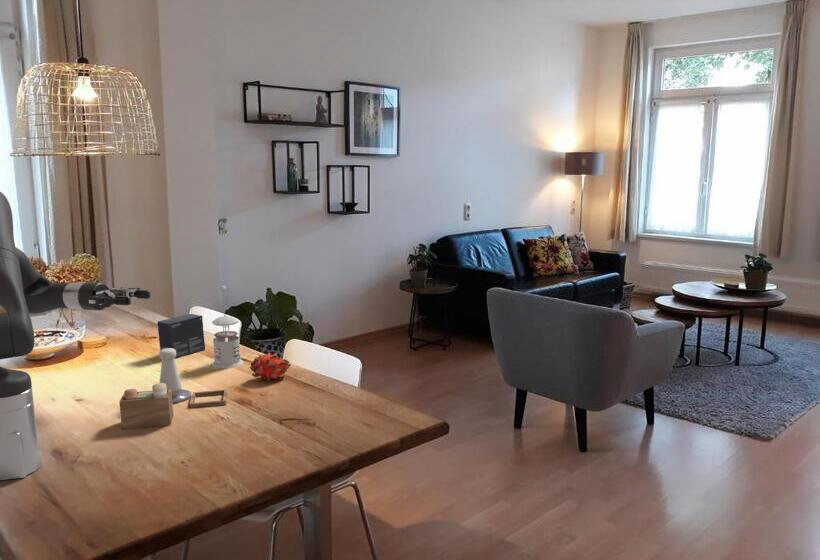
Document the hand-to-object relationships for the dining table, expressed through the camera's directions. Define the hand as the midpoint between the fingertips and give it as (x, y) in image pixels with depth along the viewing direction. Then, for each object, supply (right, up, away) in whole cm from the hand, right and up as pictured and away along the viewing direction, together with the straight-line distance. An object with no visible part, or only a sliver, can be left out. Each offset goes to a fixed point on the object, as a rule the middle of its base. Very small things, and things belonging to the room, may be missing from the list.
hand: (139, 297), depth 174 cm
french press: (+14, -22, +34) cm, 43 cm away
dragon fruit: (+31, -24, +18) cm, 44 cm away
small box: (-4, -20, +45) cm, 49 cm away
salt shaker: (+7, -27, +3) cm, 28 cm away
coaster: (+7, -27, +3) cm, 28 cm away
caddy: (+7, -30, -13) cm, 34 cm away
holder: (+18, -27, +1) cm, 33 cm away
